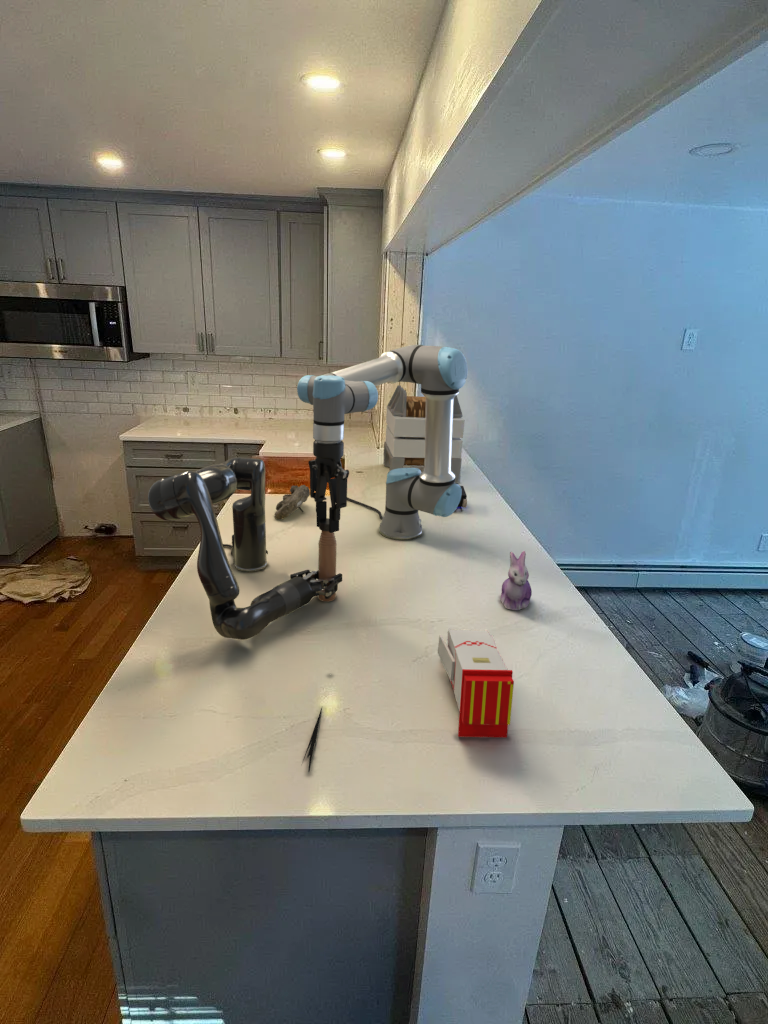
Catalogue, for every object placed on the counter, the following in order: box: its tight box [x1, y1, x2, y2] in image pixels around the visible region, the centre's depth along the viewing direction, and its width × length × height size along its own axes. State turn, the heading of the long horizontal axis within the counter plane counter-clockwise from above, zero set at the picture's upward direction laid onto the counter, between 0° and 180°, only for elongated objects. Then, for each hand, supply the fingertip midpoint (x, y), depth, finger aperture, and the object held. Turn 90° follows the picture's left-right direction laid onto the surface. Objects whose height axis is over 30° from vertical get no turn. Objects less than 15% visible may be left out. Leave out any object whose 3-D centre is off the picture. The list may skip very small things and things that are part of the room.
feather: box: [301, 673, 332, 771], centre depth 108 cm, size 2×28×2 cm
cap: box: [318, 517, 329, 532], centre depth 147 cm, size 4×4×2 cm
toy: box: [437, 628, 515, 738], centre depth 117 cm, size 12×13×30 cm
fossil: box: [273, 484, 310, 521], centre depth 215 cm, size 22×10×15 cm
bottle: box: [317, 530, 338, 602], centre depth 151 cm, size 5×5×22 cm
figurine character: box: [456, 485, 468, 512], centre depth 228 cm, size 7×8×15 cm
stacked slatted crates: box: [383, 384, 465, 484], centre depth 268 cm, size 34×33×41 cm
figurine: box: [500, 550, 533, 611], centre depth 153 cm, size 9×10×15 cm
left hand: (333, 573), depth 154 cm, fingers closed on bottle, 4 cm apart
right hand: (327, 528), depth 147 cm, fingers open, 4 cm apart
